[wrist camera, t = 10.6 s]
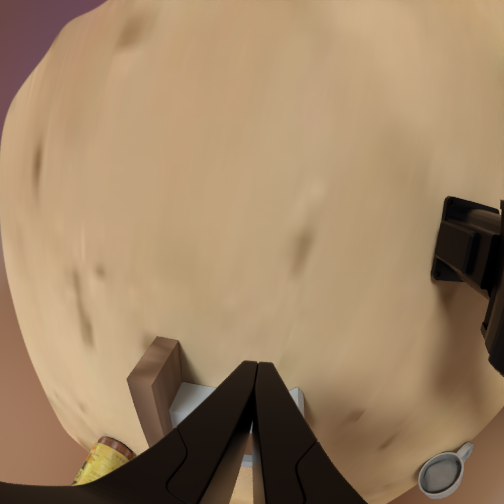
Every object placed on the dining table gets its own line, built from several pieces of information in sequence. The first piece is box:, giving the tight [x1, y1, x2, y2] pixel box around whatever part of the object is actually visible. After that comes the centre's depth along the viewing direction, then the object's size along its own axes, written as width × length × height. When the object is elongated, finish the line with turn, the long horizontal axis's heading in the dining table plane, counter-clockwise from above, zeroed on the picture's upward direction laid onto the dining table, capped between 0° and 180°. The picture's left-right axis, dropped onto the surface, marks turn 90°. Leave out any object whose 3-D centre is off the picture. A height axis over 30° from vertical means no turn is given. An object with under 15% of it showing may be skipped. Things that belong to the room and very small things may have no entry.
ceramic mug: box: [418, 442, 474, 499], centre depth 22 cm, size 11×8×8 cm
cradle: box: [169, 382, 304, 467], centre depth 22 cm, size 11×11×4 cm
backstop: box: [127, 336, 182, 448], centre depth 22 cm, size 2×18×6 cm, turn 176°
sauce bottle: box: [71, 437, 133, 486], centre depth 21 cm, size 7×6×20 cm
